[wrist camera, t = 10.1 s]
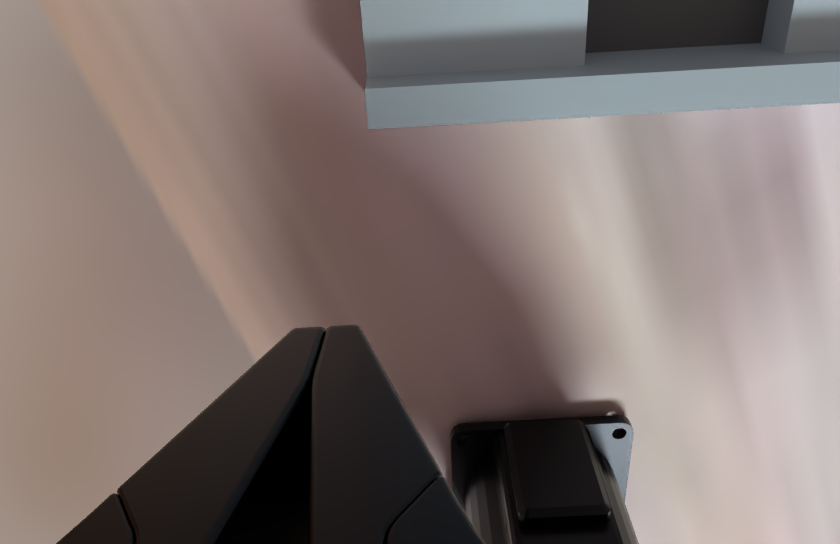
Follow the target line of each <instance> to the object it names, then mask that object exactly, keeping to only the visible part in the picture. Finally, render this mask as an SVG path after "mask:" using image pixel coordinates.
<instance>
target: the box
mask: <svg viewBox="0 0 840 544" xmlns="http://www.w3.org/2000/svg"><path fill="white" fill-rule="evenodd" d="M360 7H361V18H362V29H363V40H364V52H365V63H366V74H367V79H366V84H365V100H366V111H367V121H368V129H386V128H403V127H421V126H439V125H456V124H474V123H492V122H509V121H527V120H544V119H562V118H580V117H597V116H615V115H633V114H650V113H668V112H685V111H703V110H721V109H738V108H756V107H774V106H791V105H809V104H827V103H840V0H360Z"/></svg>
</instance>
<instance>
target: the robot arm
mask: <svg viewBox="0 0 840 544" xmlns="http://www.w3.org/2000/svg"><path fill="white" fill-rule="evenodd" d="M618 428H622V429H621V430H620V431H614V430H616V429H618ZM463 436H468V437H469V438H467V439H460V437H463ZM632 440H633V428H632V426H631V423H630V421H629V420H628V419H627V418H626V417H624V416H619V415H615V416H595V417H576V418H556V419H536V420H517V421H497V422H478V423H462V424H458V425H456V426H454V427H453V429H452V430H451V433H450V443H451V467H452V489H451V488H450V486H449V484H448V482H447V480H446V479H445V478H444V477H443V475H442V472H441V470H440V469H439V467H438V465H437V463H436V462H435V460H434V458H433V456H432V454H431V453H430V451H429V449H428V447H427V446H426V444H425V442H424V440H423V438H422V437H421V435H420V433H419V431H418V429H417V428H416V426H415V424H414V422H413V421H412V419H411V417H410V415H409V413H408V412H407V410H406V408H405V406H404V405H403V403H402V401H401V399H400V397H399V396H398V394H397V392H396V390H395V388H394V387H393V385H392V383H391V381H390V380H389V378H388V376H387V374H386V372H385V371H384V369H383V367H382V365H381V364H380V362H379V360H378V358H377V356H376V355H375V353H374V351H373V349H372V348H371V346H370V344H369V342H368V340H367V339H366V337H365V335H364V333H363V331H362V330H361V328H360V327H359V326H357V325H343V326H331V327H329V328H327V330H325V328H323V327H307V328H295V329H293V330H291V331H290V332H289V333H288V334H287V335H286V336H285V337H284V338H282V339H281V340H280V341H279V342H278V343H277V344H276V345H275V346H274V347H273V348H272V349H270V350H269V351H268V352H267V353H266V354H265V355H264V356H263V357H262V358H261V359H259V360H258V361H257V362H256V363H255V364H254V365H253V366H252V367H251V368H250V369H249V370H247V371H246V372H245V373H244V374H243V375H242V376H241V377H240V378H239V379H238V380H236V381H235V382H234V383H233V384H232V385H231V386H230V387H229V388H228V389H227V390H225V391H224V392H223V393H222V394H221V395H220V396H219V397H218V398H217V399H216V400H215V401H213V402H212V403H211V404H210V405H209V406H208V407H207V408H206V409H205V410H204V411H202V413H200V414H199V415H198V416H197V417H196V418H195V419H194V420H193V421H192V422H191V423H189V424H188V425H187V426H186V427H185V428H184V429H183V430H182V431H181V432H180V433H178V434H177V435H176V436H175V437H174V438H173V439H172V440H171V441H170V442H169V443H168V444H166V445H165V446H164V447H163V448H162V449H161V450H160V451H159V452H158V453H156V454H155V455H154V456H153V457H152V458H151V459H150V460H149V461H148V462H147V463H146V464H144V465H143V466H142V467H141V468H140V469H139V470H138V471H137V472H136V473H135V474H134V475H132V476H131V477H130V478H129V479H128V480H127V481H126V482H125V483H124V484H123V485H121V486H120V488H118V490H117V493H118V494H112V495H110V496H109V497H108V498H107V499H106V500H105V501H104V502H102V503H101V504H100V505H99V506H98V507H97V508H96V509H95V510H94V511H93V512H92V513H90V514H89V515H88V516H87V517H86V518H85V519H84V520H82V521H81V522H80V523H79V524H78V525H77V526H76V527H74V528H73V529H72V530H71V531H70V532H69V533H68V534H66V535H65V536H64V537H63V538H62V539H61V540H60V541H58V542H57V543H56V544H639V543H638V540H637V538H636V535H635V532H634V529H633V526H632V523H631V520H630V517H629V515H628V512H627V509H626V506H625V495H626V487H627V479H628V471H629V464H630V456H631V448H632ZM452 490H453V491H452Z"/></svg>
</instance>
